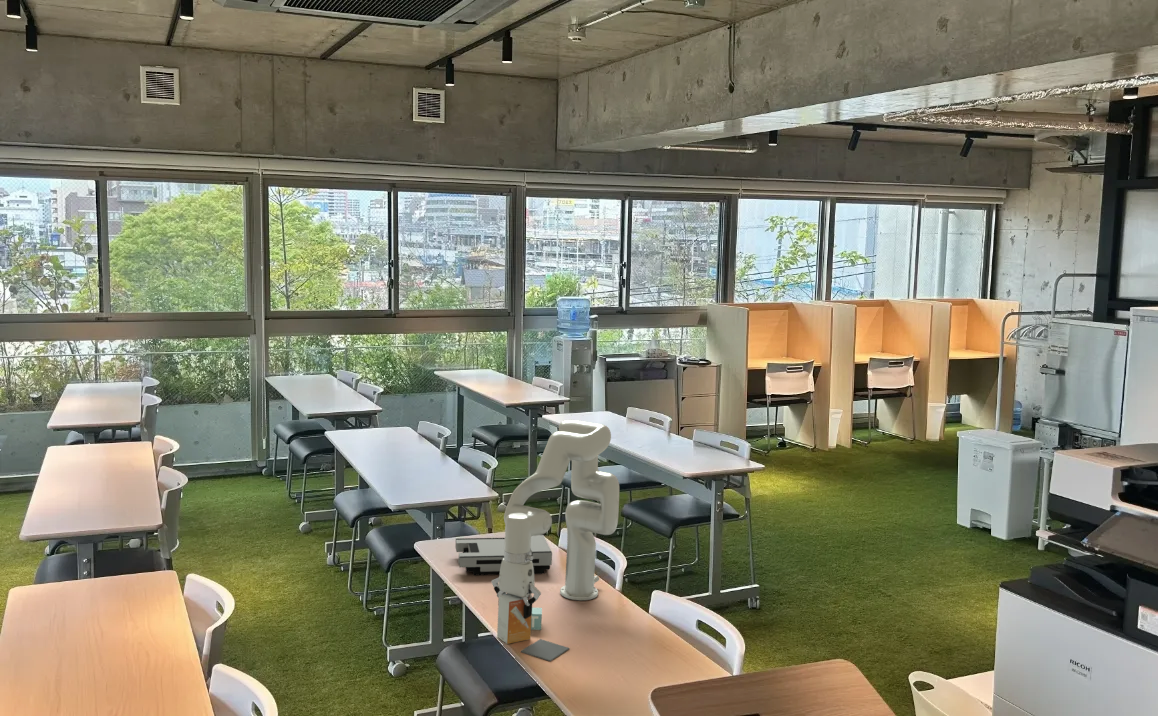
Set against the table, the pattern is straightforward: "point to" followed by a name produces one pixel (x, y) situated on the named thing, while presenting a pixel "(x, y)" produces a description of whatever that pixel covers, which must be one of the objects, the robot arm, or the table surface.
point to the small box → (512, 619)
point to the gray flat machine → (498, 554)
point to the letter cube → (536, 619)
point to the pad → (545, 650)
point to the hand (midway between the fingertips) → (514, 613)
